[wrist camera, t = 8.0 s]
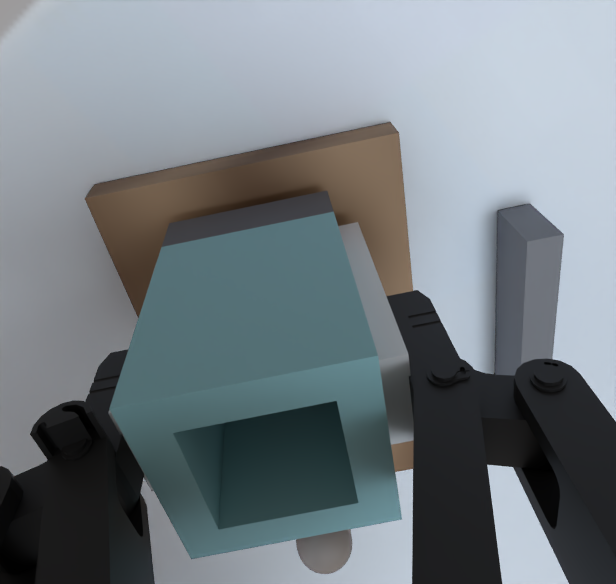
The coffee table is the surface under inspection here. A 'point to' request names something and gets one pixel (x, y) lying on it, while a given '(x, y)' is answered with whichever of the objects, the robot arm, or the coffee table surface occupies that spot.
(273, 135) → the coffee table surface
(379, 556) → the coffee table surface
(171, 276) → the sleeve
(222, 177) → the pin board
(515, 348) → the feeder rails
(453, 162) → the coffee table surface
